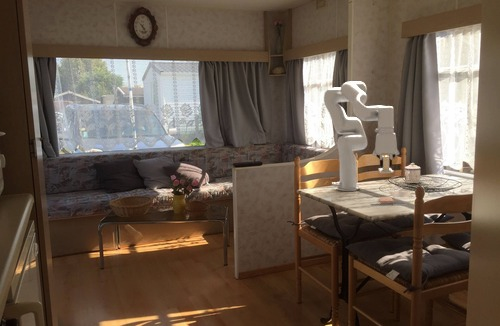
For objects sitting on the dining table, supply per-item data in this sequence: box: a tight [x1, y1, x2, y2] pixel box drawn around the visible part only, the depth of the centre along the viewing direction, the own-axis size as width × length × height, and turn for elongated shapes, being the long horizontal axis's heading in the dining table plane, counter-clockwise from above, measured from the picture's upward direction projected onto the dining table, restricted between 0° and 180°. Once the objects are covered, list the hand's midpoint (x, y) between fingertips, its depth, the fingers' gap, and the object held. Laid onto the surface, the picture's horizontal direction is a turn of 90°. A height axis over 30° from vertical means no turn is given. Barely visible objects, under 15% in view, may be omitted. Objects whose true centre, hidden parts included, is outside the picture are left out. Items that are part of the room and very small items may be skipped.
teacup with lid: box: [404, 162, 421, 184], centre depth 256 cm, size 12×9×12 cm
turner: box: [378, 155, 394, 174], centre depth 217 cm, size 6×10×8 cm, turn 170°
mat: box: [370, 203, 406, 207], centre depth 214 cm, size 16×16×1 cm
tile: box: [378, 196, 395, 204], centre depth 213 cm, size 6×2×8 cm
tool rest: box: [389, 190, 414, 198], centre depth 227 cm, size 10×13×1 cm
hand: (385, 166), depth 217 cm, fingers closed on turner, 3 cm apart
